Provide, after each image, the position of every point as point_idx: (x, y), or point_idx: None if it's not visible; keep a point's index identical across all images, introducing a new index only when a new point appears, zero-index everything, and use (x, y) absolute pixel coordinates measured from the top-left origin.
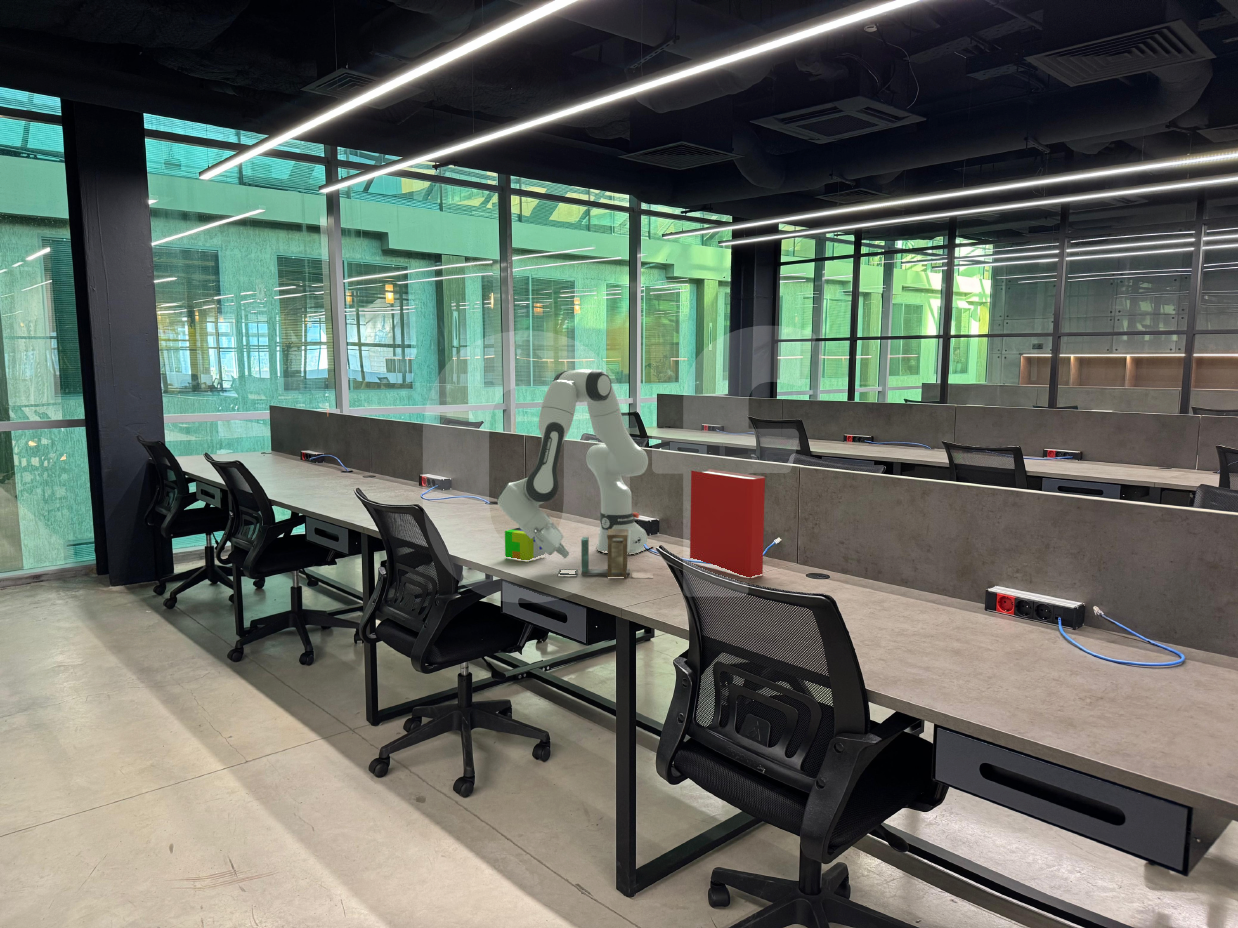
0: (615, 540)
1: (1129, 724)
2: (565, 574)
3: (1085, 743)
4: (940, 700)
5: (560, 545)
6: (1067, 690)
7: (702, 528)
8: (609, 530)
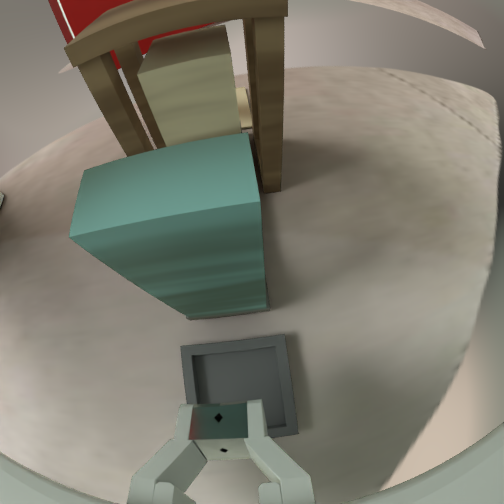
0: (149, 58)
1: (441, 13)
2: (292, 393)
3: (468, 28)
4: (471, 36)
5: (178, 498)
6: (421, 6)
7: (104, 1)
8: (115, 22)
